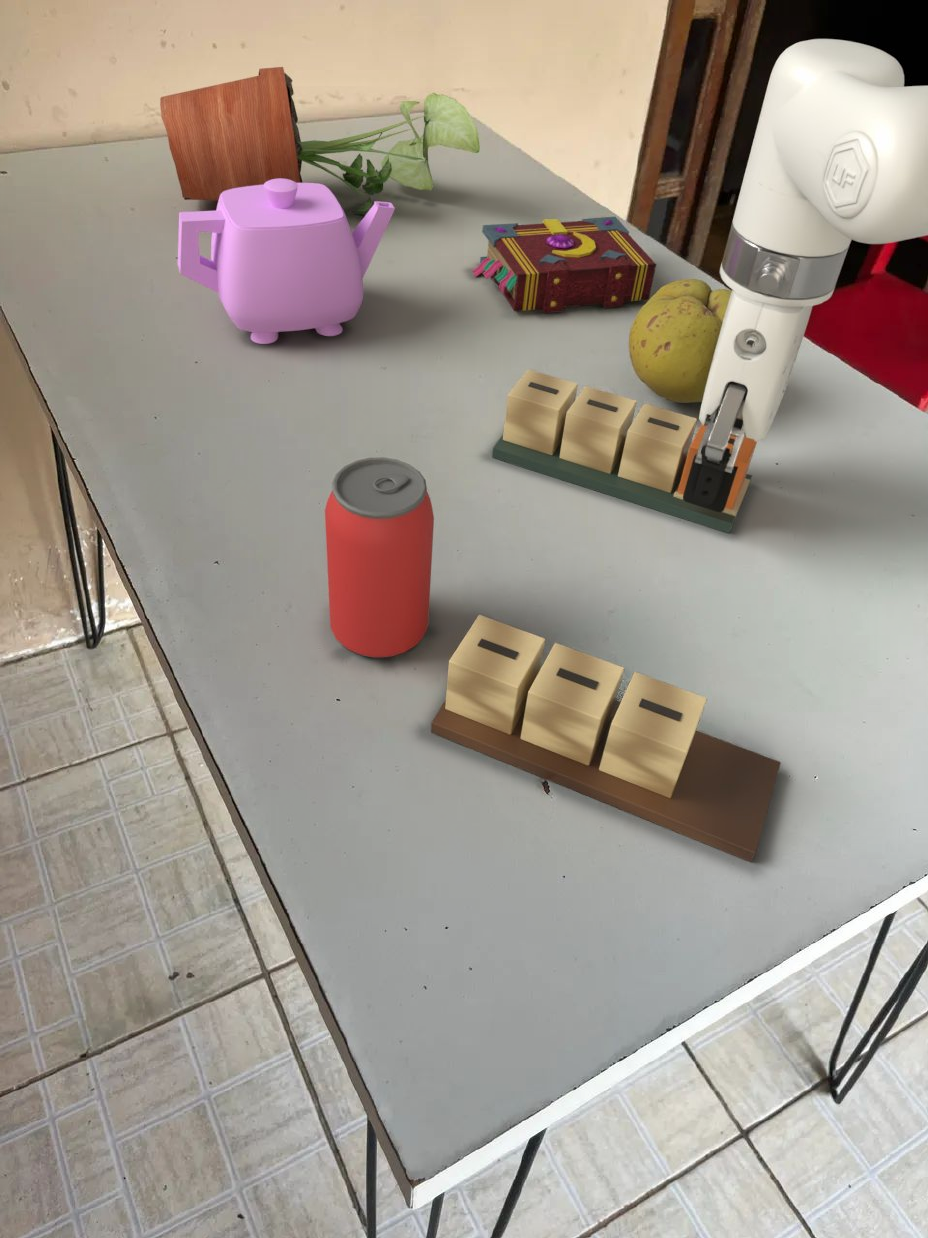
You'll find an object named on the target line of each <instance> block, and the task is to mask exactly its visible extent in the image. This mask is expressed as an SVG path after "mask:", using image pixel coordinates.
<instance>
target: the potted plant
mask: <svg viewBox="0 0 928 1238" xmlns="http://www.w3.org/2000/svg"><path fill="white" fill-rule="evenodd" d="M294 93H295V92H294V88H293V79H292V78H291V77H290V76H289V75H288V73H286V72H285V68H284V66H276V67H275V66H274V67H264V68H263V67H262V68H259V69H258V75H256V76H255V75H254V76H250V77H245V78H241V79H237V80H232V81H227V82H224V83H219V84H214V85H209V86H205V87H200V88H196V89H191V90H186V91H183V92H178V93H173V94H169V95H168V94H167V95H164V96H161V97H160V98H159V99H160V100H159V107H160V117H161V120H162V122H163V125H164V128H165V131H166V135H167V140H168V141H167V142H168V147H169V150H170V154H171V156H172V160H173V163H174V166H175V170H176V171H175V172H176V175H177V178H178V179H177V180H178V183H179V186H180V187H179V188H180V190H181V195H182V198H183V199H184V200H185V201H211V202H212V201H213V202H214V201H216V202H218V201H219V197H220V194H221V193H222V192H224V191H226V190H229V189H234V188H239V187H246V186H254V185H264V183H265V182H267V181H269V180H272V179H278V178H282V179H289V180H292V181H294V182H296V183H304V182H303V179H302V174H301V172H302V165H303V164H302V163H303V162H304V163H305V164H309V165H312V166H314V167H315V168H318V169H320V170H322V171H324V172H326V173H328V174H330V175H331V176H333V177H335V178H337V179H339V180H340V181H341V182H343V183H344V185H346V186H347V187H349V188H350V189H351V190H353V191H355V192H356V193H358V194H359V195H360V196H363V197H365V195H364V194H366V195H369V198H368V199H366V202H365V203H364V204H363V205H361V206H360V207H358V208H352V212H353V213H354V214H356V215H362V216H365V215H366V214H367V213H368V212H369V210H370V209H371V208H372V206H373V205H374V201H372V200H371V196H373V195H374V194H377V195H380V194H381V193H382V191H384V183H385V182H387V181H388V180H389V178H390V179H391V180H393V181H394V182H397V183H399V184H400V185H402V186H404V187H408V188H413V189H415V190H419V191H423V190H426V191H429V192H432V190H433V187H434V181H433V176H432V173H431V169H430V164H429V148H430V147H436V146H443V147H447V148H451V149H452V148H453V149H457V150H462V151H465V152H470V153H472V154H479V153H480V149H481V148H480V146H481V145H480V140H479V139H480V138H479V131H478V128H477V126H476V124H475V122H474V119H473V118H472V116H471V115H470V113H469V111H468V110H467V108H466V107H465V106H464V105H463V104H462V103H460V102H459V101H458V100H457V99H456V98H455V97H451V96H448V95H446V94H437V93H436V92H433V93H430V94H428V95H426V97H425V98H424V101H423V106H424V107H423V112H424V113H423V115H420V116H416V117H413V118H411V116H410V115H411V113H412V111H413V109H414V107H415V106H417V105H419V104H421V103H420V101H416V100H410V101H407V100H405V101H404V100H403V101H402V102H401V103H400V104H399V105H398V107H399V111H400V113H401V115H402V116H403V118H404V119H405V120H404V121H401V122H399V123H396V124H392V125H389V126H386V127H383V128H379V129H375V130H373V131H368V132H365V133H361V134H357V135H352V136H349V137H344V138H339V139H338V138H337V139H334V140H333V139H332V140H316V139H315V140H305V141H302V140H301V135H300V129H299V127H298V125H297V123H298V121H299V119H298V118H299V117H298V114H297V110H296V105H295V102H294V99H293V97H292V96H294ZM422 118H423V122H424V127H423V134H422V135H421V136H419V134H418V132H417V130H416V128H415V127H414V125H413V121H416V120H418V119H422ZM405 124H408V125H409V127H410V128H409V129H404V130H401V131H396V132H393V133H389V134H386V135H383V133H384V132H387V131H390V130H392V129H395V128H398V127H400V126H403V125H405ZM410 130H411V131H412V133H413V135H414V138H413V139H409V140H400V141H397V142H396V143H395V144H394V145H393V147H392V148H390V150H389V151H382V150H378V149H374V148H372V147H373V146H374V145H375V144H376V142H377V141H381V140H383V139H387V138H389V137H391V136H395V135H398V134H402V133H405V132H407V131H410ZM377 135H379V136H378V137H377V138H373V139H369V140H368V139H367V138H370V137H373V136H377ZM382 135H383V136H382ZM365 139H367V140H365ZM360 140H361V141H360ZM346 152H369V153H375V154H376V153H377V154H383V155H385V156H384V158H383V159H382V160H381V164H380V165H381V169H380V170H379V171H378V170H377V169H376V168H375V166H374V164H373V163H372V161H371V160H370V158H366V172H364V169H362V168H363V155H361V153H358V155H356V158H355V159H354V160H353V161H352V162H351V164H350V165H346V164H343V163H341V162H339V161H337V160H334V159H332V158H329V157H326V156H323V155H326V154H337V153H338V154H339V153H346ZM319 163H323V164H329V165H332V166H335V167H338V168H339V169H340V170H341V171H343V173H342V177H341V176H339V175H338V174H337V173H335V172H333V171H331V170H329V169H328V168H326V167H325V166H323V165H321V164H319ZM344 172H345V173H344ZM364 178H365V183H364V184H362V183H363V182H364ZM360 187H361V188H362V190H363V191H364V194H363V193H362V191H360V190H359V188H360Z"/></svg>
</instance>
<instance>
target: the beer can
mask: <svg viewBox="0 0 928 1238" xmlns="http://www.w3.org/2000/svg"><path fill="white" fill-rule="evenodd" d="M426 481H427V480H426V479H425V477H424V476H423V474H422V473H421V471H419V470H418V469H416V468H415V467H414V466H412V465H411V464H409V463H407V462H403V461H402V460H399V459H397V458H396V459H395V458H390V457H384V456H383V457H380V456H379V457H367V458H363V459H358V460H354V461H353V462H350V463H349V464H346V465H345V466H342V468H340V470H339V471H338V472H337V473H335V476H334V477H333V480H332V482H331V488H332V489H331V492H330V494H329V496H328V498H327V501H326V504H325V508H324V522H325V524H324V525H325V541H326V543H325V544H326V564H327V565H326V567H327V582H328V584H327V585H328V586H327V587H328V605H329V607H328V608H329V624H330V626H329V627H330V630H331V632H332V634H333V636H334V638H335V639H336V641H338V642H339V643H340V645H342V646H343V647H344V648H345V649H346V650H349V651H351V652H353V653H355V654H357V655H359V656H364V657H370V658H375V659H376V658H390V657H394V656H397V655H401V654H404V653H407V651H410V650H411V649H412V648H414V647H415V646H417V645H418V644H419V642H421V640H422V639H423V638H424V636H425V635H426V632H427V629H428V625H429V619H430V618H429V617H430V603H431V602H430V600H431V599H430V598H431V582H432V581H431V580H432V565H433V564H432V563H433V545H434V543H433V542H434V524H435V516H434V510H433V505H432V501H431V497H430V495H429V492H428V487H427V482H426Z"/></svg>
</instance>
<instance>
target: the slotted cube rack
mask: <svg viewBox="0 0 928 1238" xmlns="http://www.w3.org/2000/svg"><path fill="white" fill-rule="evenodd" d="M578 386H579V384H578V383H577V382H574V381H570V380H566V379H564V378H561V377H557V376H553V375H549V374H546V373H543V372H539V371H536V370H532V369H527V370H526V371H525V372H524V374H523V375H522V376H521V377H520V379H519V380H518V381H517V382H516V384H515V385H514V386H513V387H512V389H511V390H509V392H508V394H507V398H506V407H505V417H504V427H503V433H502V436H500V438H499V439H498V440H497V441H496V443H495V444H494V446H493V447H492V452H491V453H492V455H491V458H493V459H495V460H499V461H502V462H506V463H508V464H511V465H514V466H517V467H521V468H524V469H527V470H530V471H533V472H536V473H539V474H542V475H546V476H550V477H552V478H556V479H558V480H562V481H565V482H568V483H571V484H574V485H577V486H579V487H583V488H585V489H590V490H593V491H596V492H598V493H601V494H605V495H608V496H611V497H614V498H617V499H620V500H624V501H627V502H629V503H633V504H636V505H639V506H642V507H645V508H647V509H652V510H655V511H657V512H661V513H664V514H667V515H670V516H673V517H675V518H676V517H678V518H680V519H684V520H686V521H689V522H692V523H695V524H698V525H701V526H705V527H708V528H711V529H714V530H716V531H717V530H718V531H720V532H724V533H727V534H730V533H731V530H732V527H733V526H734V524H735V521H736V518H737V516H738V514H739V511H740V508H741V507H742V503H743V501H744V499H745V497H746V495H747V492H748V490H749V487H750V484H751V481H752V478H753V475H752V474H749V473H747V474H746V477H745V480H744V482H743V485H742V487H741V489H740V492H739V494H738V497H737V499H736V501H735V504H734V506H733V508H732V509H728V508H724V510H723V511H722V512H716V511H713V510H709V509H706V508H703V507H700V506H697V505H694V504H690V503H687V502H685V501H684V500H683V494H680V493H678V488H679V484H680V481H681V477H682V473H683V470H684V466H685V462H686V459H687V455H688V452H689V448H690V445H691V443H692V441H693V439H694V438H693V437H694V434H695V430H696V426H697V424H698V418H697V417H693V416H689V415H686V414H682V413H679V412H676V411H672V410H669V409H666V408H663V407H660V406H659V407H658V406H655V405H652V404H649V403H643V405H642V406H641V408H640V410H639V411H638V413H637V414H636V416H635V413H636V407H637V403H638V401H637V400H636V399H631V398H628V397H625V396H621V395H618V394H614V393H611V392H608V391H604V390H601V389H598V388H594V387H591V386H587V385H585V386H584V387H583V389H582V390H581V391H580V393H579V394H578V395H577V393H578ZM634 417H635V418H634Z"/></svg>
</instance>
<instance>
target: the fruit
mask: <svg viewBox="0 0 928 1238" xmlns="http://www.w3.org/2000/svg"><path fill="white" fill-rule="evenodd" d="M731 292H732V290H730V289H727V288H718V289H715V290H712V288H711V286H710V285H709V284H708V283H707V282H705V281H704V280H701V279H698V278H685V279H676V280H674V281H671V282H669V283H666V284H665V285H663V286H661V287H660V288H659V289H658V290H657V291H656V292H655V293H654V294H653V295H652V296H651V297H649V300H647V302H646V303H645V304H643V305H642V306H641V308H639V310H638V312H637V314H636V316H635V318H634V320H633V322H632V324H631V327H630V330H629V336H628V351H629V359H630V363H631V367H632V369H633V371H634V373H635V374H636V376H637V378H638V379H639V380H640V382H641V383H643V384H644V385H645V386H646V387H647V388H648V389H649V390H651V391H652V392H653V393H655V395H657V396H659V397H661V398H662V399H665V400H667V401H670V402H671V401H672V402H675V403H683V404H684V403H687V404H688V403H702V400H703V396H704V392H705V388H706V383H707V379H708V375H709V371H710V368H711V364H712V360H713V356H714V352H715V349H716V345H717V341H718V338H719V334H720V330H721V327H722V323H723V320H724V316H725V313H726V309H727V306H728V302H729V299H730V295H731ZM752 342H753V341H752Z"/></svg>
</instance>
